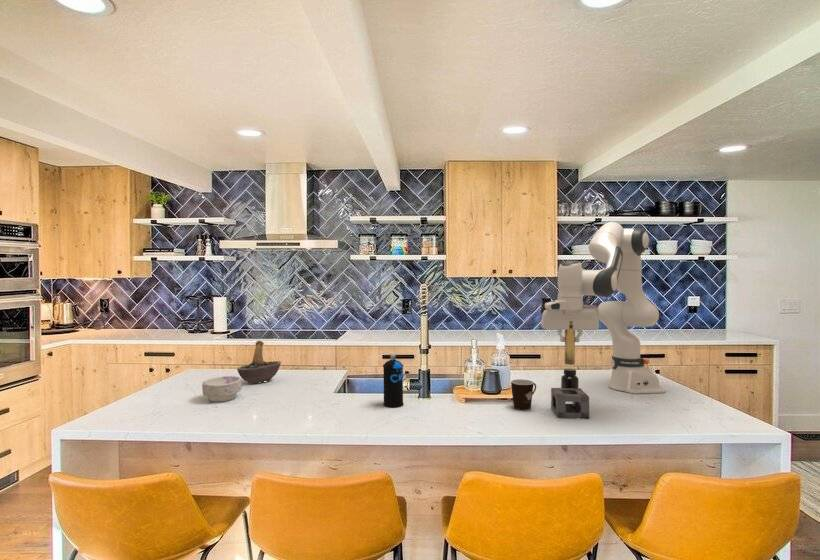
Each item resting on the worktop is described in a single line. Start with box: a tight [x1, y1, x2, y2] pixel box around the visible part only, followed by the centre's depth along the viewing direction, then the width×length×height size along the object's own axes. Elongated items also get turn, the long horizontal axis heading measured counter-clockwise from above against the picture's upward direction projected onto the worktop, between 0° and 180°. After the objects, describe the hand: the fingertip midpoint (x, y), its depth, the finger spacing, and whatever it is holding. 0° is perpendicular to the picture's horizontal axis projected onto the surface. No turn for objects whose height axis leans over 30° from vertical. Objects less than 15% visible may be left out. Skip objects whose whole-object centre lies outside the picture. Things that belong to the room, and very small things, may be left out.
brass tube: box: [564, 321, 576, 366], centre depth 165 cm, size 4×4×16 cm
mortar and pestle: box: [236, 340, 282, 384], centre depth 214 cm, size 15×17×20 cm
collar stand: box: [550, 387, 590, 420], centre depth 166 cm, size 11×11×8 cm
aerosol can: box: [382, 354, 405, 409], centre depth 178 cm, size 8×8×20 cm
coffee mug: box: [510, 378, 537, 411], centre depth 174 cm, size 12×9×10 cm
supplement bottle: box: [560, 368, 580, 388], centre depth 185 cm, size 7×7×12 cm
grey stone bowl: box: [201, 375, 243, 403], centre depth 188 cm, size 15×15×8 cm
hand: (569, 341), depth 165 cm, fingers closed on brass tube, 4 cm apart
